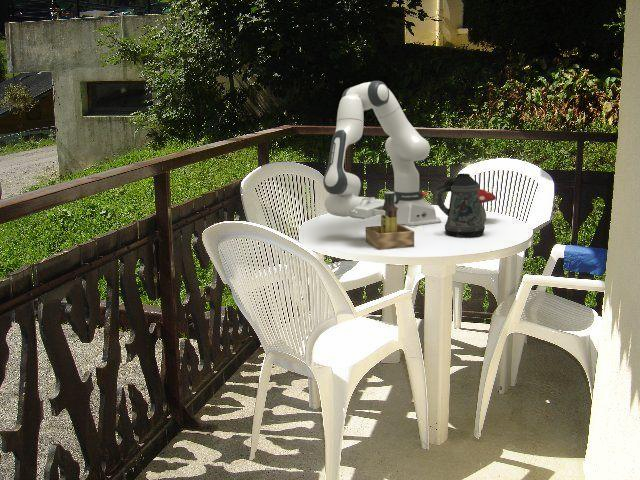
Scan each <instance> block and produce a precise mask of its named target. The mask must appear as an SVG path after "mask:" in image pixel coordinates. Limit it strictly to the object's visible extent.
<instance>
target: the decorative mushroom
mask: <svg viewBox="0 0 640 480" xmlns="http://www.w3.org/2000/svg"><path fill="white" fill-rule="evenodd" d="M478 196H479V203H480V210H481V216H482V220H483V223H484V222H486V220H487V213H486V209H485V207H484V205H483V204H485V203H487V202H491V201H495V200H496V199H497V197H496V195H495V194H493V193H492V192H491V191H488V190H485V189H482V188H479V190H478Z"/></svg>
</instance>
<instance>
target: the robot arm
mask: <svg viewBox="0 0 640 480" xmlns="http://www.w3.org/2000/svg"><path fill="white" fill-rule="evenodd" d="M371 109H372V110H373V113H374V114H375V117H376V118H377V121H378V122H379V125H380V126H381V128H382V130H383V131H384V133H385V134H386V135H388V136H389V137H388V138H387V139H386V141H385V143H384V144H385V145H384V149H385V152H386V153H387V155H388V157H389V159H390V162H391V164H392V165H391V166H392V168H393V169H392V170H393V178H394V179H393V180H394V181H393V182H394V184H393V185H394V186H393V187H394V190H393V191H392V192H394V193H395V196H394V205H395V206H396V209H397V225H399V224H401V225H403V226H405V225H407V226H420V225H429V224H437V223H442V222H441V221H442V219H441V218H440V217H438V216H437V213H436V210H435V208H434V206H433V205H432V204H430V203H429V202H428V201H427V200H426V199H424V197H425V198H426V197H427V195H428V193H427V192H425V191H422V190H420V173H419V170H418V169H417V168H416V166H415V165H416V164H415V162H418V161H419V162H420V161H423V160H425V159H427V157H428V156H429V154H430V151H431V147H430V146H431V145H430V143H429V141H428V140H427V139H425V138H424V137H422V135H420V133H419V132H418V131H417V130H416V128H414V126H413V125H412V124H411V123H410V121H409V120H408V118H407V116H406V115H405V113H404V111H403V109H402V107H401V106H400V103H399V101H398V100H397V98H396V97H395V95H394V93H393V92H392V91H391V90H390V88H388V86H387V85H386V83H384V82H383V81H380V80H373V81H368V82H363V83H360V84H357V85H354V86H350V87H348V88H346V89H345V90H344V91H343V93H342V95H341V99H340V101H339V104H338V108H337V115H336V127H335V132H334V133H333V135H332V138H331V142H330V150H329V155H328V163H327V167H326V170H325V173H324V175H323V179H322V180H323V182H322V183H323V188H324V189H325V191H326V192H327V193H329V194H328V195H327V196H326V197H325V198H324V208H325V210H326V211H327V213H328V214H329V215H332V216H335V217H342V218H343V217H344V218H346V217H349V218H352V219H360V220H366V219H369V218H372V217H377V216H381V215H386V210H382V208H383V205H384V202H385V199H381V198H376V197H374V196H367V197H366V196H359V195H360V192H361V187H362V182H361V179H360V177H359V176H357V175H356V174H354V173H350V172H347V171H345V168H344V165H345V158H346V151H347V148H348V147H349V146H350V145H353V144H355V143H357V142H358V141H360V139H361V138H362V137H363V133H364V132H363V131H364V123H365V122H364V121H365V120H364V119H365V117H364V114H365V113H364V112H365V111H369V110H371Z"/></svg>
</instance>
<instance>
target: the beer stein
mask: <svg viewBox="0 0 640 480" xmlns="http://www.w3.org/2000/svg"><path fill="white" fill-rule="evenodd" d="M480 187H481V186H480V183H478V182H477V181H476V180H475V179H473V177H472V176H471V175H470V174H469V173H457V174H456V176H454V177H451V178H446V179H445V180H444V184H442V185H441V186H439V187H437V188H436V192H435V201H436V205H438V207H439V209H440V210H441V211H442V212H443V213H444V214H445V215H446V216H447V219H446V222H445V223H444V230H445V235H446V236H449V237H453V238H461V239H473V238H479V237H482V235H483V236H484V232H485V228H486V225H485V223H484V222H483V220H482V216H481V210H480V203H479V196H478V190H479V189H480ZM445 192H447V193H449V192H450V200H449V205H448V206H449V207H447V206H446V205H445V203H444V202H443V200H442V194H443V193H445Z"/></svg>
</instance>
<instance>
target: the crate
mask: <svg viewBox="0 0 640 480" xmlns="http://www.w3.org/2000/svg"><path fill="white" fill-rule="evenodd" d="M364 230H365V231H364V232H365V237H364V238H365V242H366V243H367V244H368V245H370V246H371V247H373V248H375V249H376V250H378V251H379V250H390V249H402V248H415V231H414V230H412V229H410V228H408V227H406V226H405V225H404V224H397V232H395V233H382V234H381V225H375V226H365V229H364Z"/></svg>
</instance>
